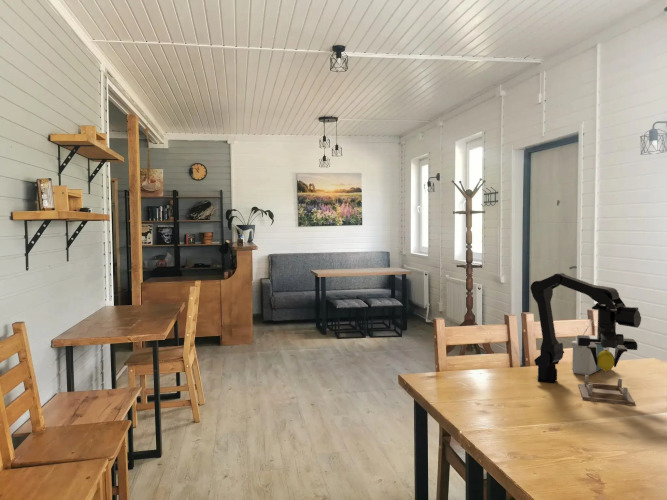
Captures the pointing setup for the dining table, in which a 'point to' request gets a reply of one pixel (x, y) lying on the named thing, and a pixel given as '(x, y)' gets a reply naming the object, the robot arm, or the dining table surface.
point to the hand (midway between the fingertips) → (605, 366)
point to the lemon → (605, 360)
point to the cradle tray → (605, 392)
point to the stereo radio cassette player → (585, 357)
